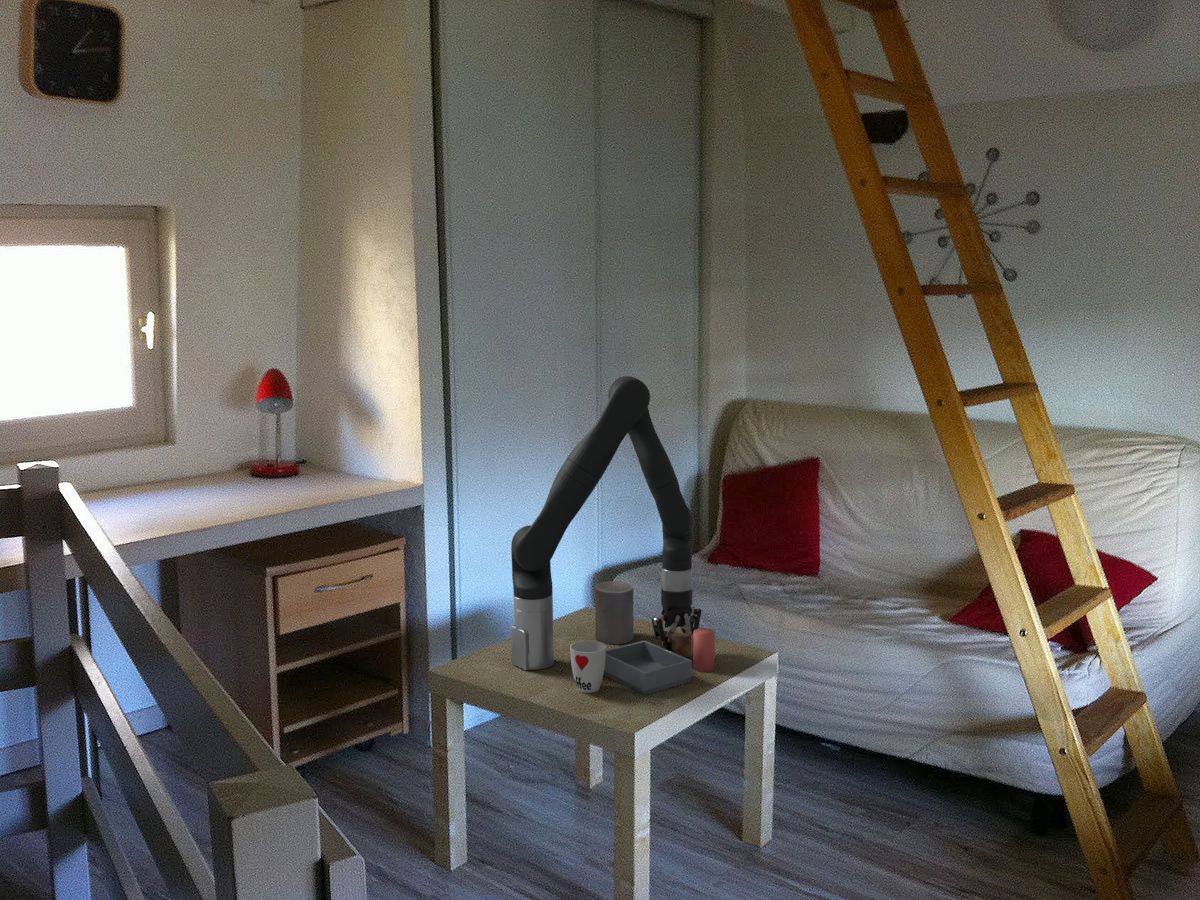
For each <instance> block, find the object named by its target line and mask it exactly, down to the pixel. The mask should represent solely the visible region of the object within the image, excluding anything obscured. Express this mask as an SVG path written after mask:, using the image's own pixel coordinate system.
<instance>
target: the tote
mask: <svg viewBox="0 0 1200 900" xmlns="http://www.w3.org/2000/svg"><path fill="white" fill-rule="evenodd" d="M603 676H605V677H607V678H609V679H612V680H613V681H615V682H617V683H619V684H621V685H623V686H626V687H627V688H629V689H632V690H634V691H636V692H638V693H640V694H642V695H644V696H646V695H649V694H653V692H654V693H656V691H657V692H660V691H663V690H668V689H670V687H671V688H674V687H678V686H680V684H681V685H684V683H685V684H688V683H691V681H692V682H693V660H692V659H689V658H688V657H686V658H685V657H682V656H680V655H678V654H675V653H673V652H671V651H668V650H666V649H664V648H662V646H659V645H657V644H654V643H652V642H650V641H647V640H640V641H637V642H633V643H627V644H625V645H622V646H617V647H614V648H610V649H606V657H605V668H604V674H603ZM687 682H688V683H687ZM677 685H678V686H677ZM673 686H674V687H673Z"/></svg>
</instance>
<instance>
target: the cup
mask: <svg viewBox="0 0 1200 900" xmlns="http://www.w3.org/2000/svg"><path fill="white" fill-rule="evenodd" d="M569 649H570V651H569V652H570V665H571V670H572V675H573V680H574V683H575V686H576V689H577V691H578V692H580V693H584V694H585V693H586V694H589V693H591V694H592V693H596V692H598V691H599V690H600V688H601V685H602V682H603V679H604V675H603V674H604V668H605V657H606V650H607V644H605V643H602V642H599V641H597V640H580V641H575V642H573V643H571V644H570V645H569Z"/></svg>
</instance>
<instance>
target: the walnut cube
mask: <svg viewBox="0 0 1200 900" xmlns="http://www.w3.org/2000/svg"><path fill="white" fill-rule="evenodd" d="M667 635H668V633H667ZM671 642H672V652H673V653H675V654H678V655H680V656H682V657H685V658H688V657H689V658H690V657H692V636H690V635H687V634H685V633H682V632H681V630H675V633H674V634H673V636H672V639H671ZM661 647H662V648H663V642H662V641H661Z"/></svg>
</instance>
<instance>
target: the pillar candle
mask: <svg viewBox="0 0 1200 900" xmlns="http://www.w3.org/2000/svg"><path fill="white" fill-rule="evenodd" d="M594 590H595V592H594V593H595V616H594V617H595V618H594V619H595V641H598V642H602V643H604V644H605V645H622V644H623V645H624V644H629V643H630V642H631V641H632V640H633V639H634V584H631V583H629V582H625V581H622V580H621V581H619V580H608V581H602V582H600V583H598V584H596V585H595V589H594Z"/></svg>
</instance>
